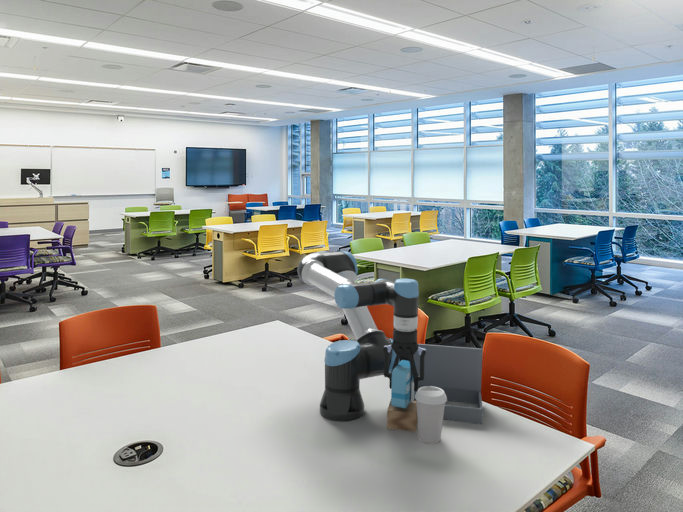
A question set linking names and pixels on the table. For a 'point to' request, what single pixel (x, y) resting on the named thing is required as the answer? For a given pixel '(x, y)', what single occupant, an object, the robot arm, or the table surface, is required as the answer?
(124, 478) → the table surface
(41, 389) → the table surface
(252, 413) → the table surface
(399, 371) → the light blue box
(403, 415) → the stand
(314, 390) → the table surface
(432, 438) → the coffee cup
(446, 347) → the case
